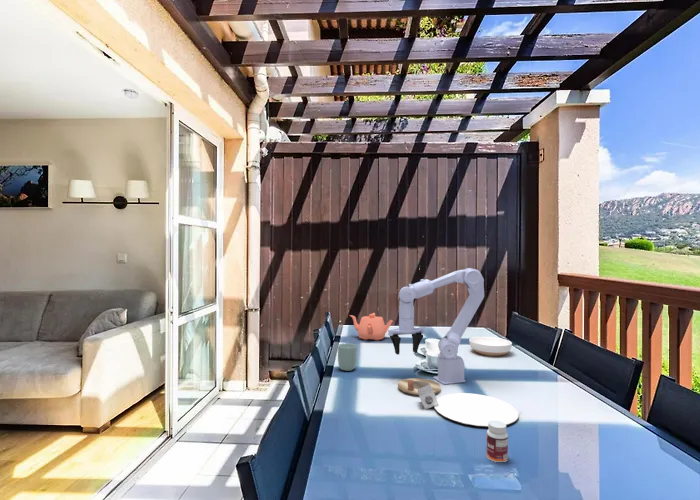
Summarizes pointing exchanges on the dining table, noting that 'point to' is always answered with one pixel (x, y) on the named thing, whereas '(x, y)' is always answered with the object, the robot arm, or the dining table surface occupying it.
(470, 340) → the bowl
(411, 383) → the turntable
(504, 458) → the pill bottle
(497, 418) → the plate
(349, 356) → the cup
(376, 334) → the teapot
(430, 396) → the grey block
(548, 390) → the dining table surface
